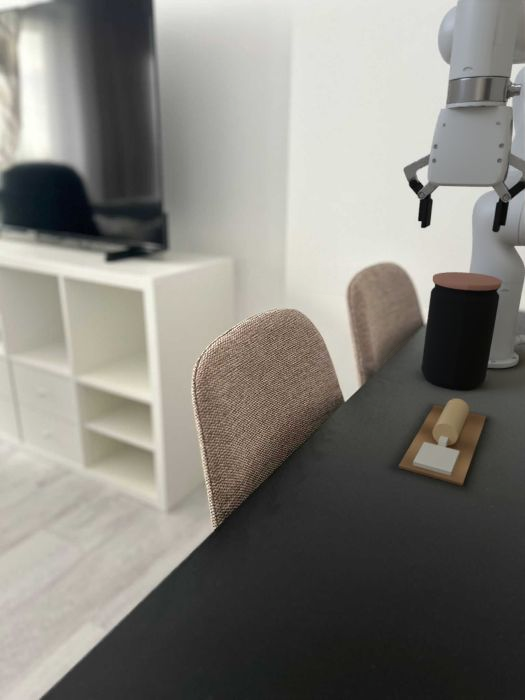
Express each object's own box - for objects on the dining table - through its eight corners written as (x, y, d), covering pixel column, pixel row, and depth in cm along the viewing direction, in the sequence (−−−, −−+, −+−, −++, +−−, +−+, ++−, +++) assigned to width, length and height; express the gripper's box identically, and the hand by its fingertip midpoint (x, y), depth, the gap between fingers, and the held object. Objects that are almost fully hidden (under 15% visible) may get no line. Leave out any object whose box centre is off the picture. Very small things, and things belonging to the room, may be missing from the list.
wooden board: (434, 407, 79) (434, 404, 79) (485, 418, 76) (486, 416, 76) (398, 468, 63) (398, 465, 63) (462, 486, 59) (462, 483, 59)
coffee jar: (482, 372, 93) (499, 274, 87) (486, 395, 84) (505, 287, 78) (421, 365, 96) (433, 270, 90) (418, 386, 87) (431, 281, 81)
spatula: (440, 415, 76) (442, 395, 75) (472, 422, 74) (475, 402, 73) (412, 465, 63) (415, 442, 62) (450, 476, 61) (454, 452, 60)
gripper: (551, 95, 66) (528, 229, 73) (416, 102, 74) (405, 222, 80) (550, 89, 60) (524, 236, 66) (403, 97, 68) (392, 228, 74)
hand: (459, 228), depth 73 cm, fingers open, 9 cm apart
